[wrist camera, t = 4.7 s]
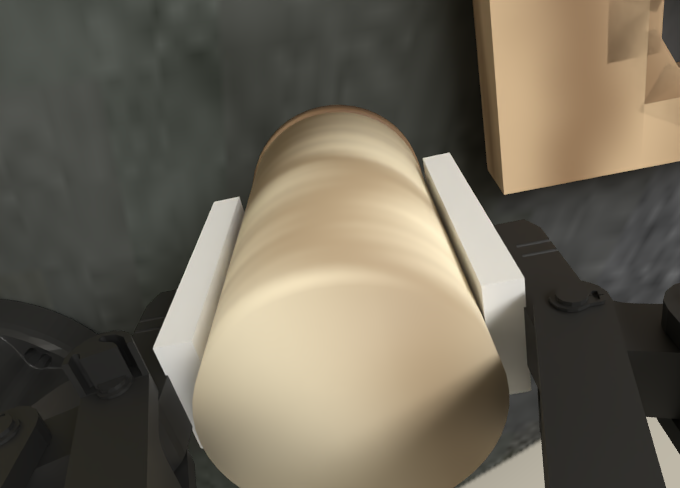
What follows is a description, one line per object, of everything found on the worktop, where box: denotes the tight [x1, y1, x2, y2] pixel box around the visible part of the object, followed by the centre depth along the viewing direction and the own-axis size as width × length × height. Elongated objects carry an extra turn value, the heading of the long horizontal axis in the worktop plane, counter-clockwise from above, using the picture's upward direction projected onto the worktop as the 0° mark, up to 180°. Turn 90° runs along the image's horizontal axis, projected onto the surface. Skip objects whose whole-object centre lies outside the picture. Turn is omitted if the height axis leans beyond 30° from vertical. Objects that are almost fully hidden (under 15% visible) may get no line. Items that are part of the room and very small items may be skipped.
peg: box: [192, 105, 509, 488], centre depth 15 cm, size 6×6×13 cm
